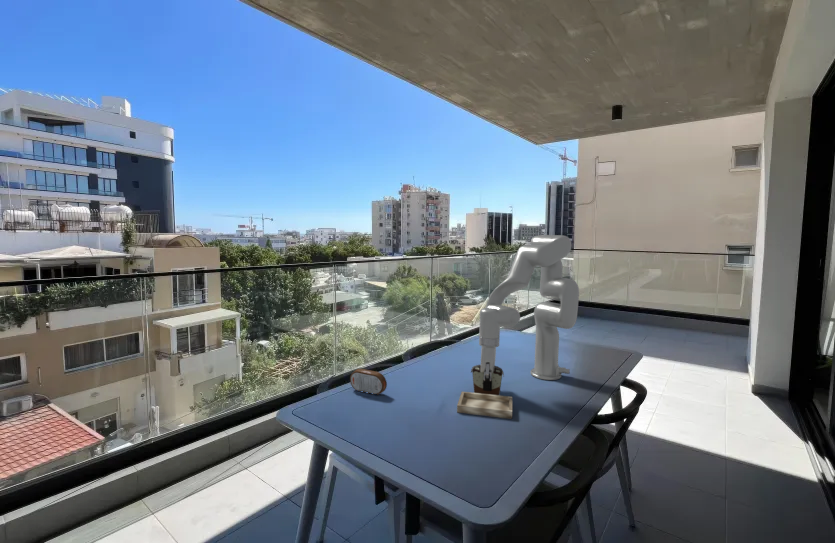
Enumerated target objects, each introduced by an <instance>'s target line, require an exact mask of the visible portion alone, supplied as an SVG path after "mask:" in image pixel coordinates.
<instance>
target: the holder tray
mask: <svg viewBox="0 0 835 543" xmlns="http://www.w3.org/2000/svg"><path fill="white" fill-rule="evenodd" d="M456 406H457V407H456V413H459V414H468V415H475V416H476V415H477V416H485V417H493V418H500V419H509V420H510V419H511V420H512V419H513V396H508V395H501V394H500V395H491V394H481V393H474V392H469V391H461V393H460V395H459V399H458V401H457V405H456Z"/></svg>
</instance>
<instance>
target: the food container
mask: <svg viewBox="0 0 835 543" xmlns="http://www.w3.org/2000/svg"><path fill="white" fill-rule="evenodd" d="M480 368H481V364H476V365H474V366H472V368H471V369H470V373H472V384H473V385H472V386H473V393H481V394H491V395H500V396H501V394H500V393H501V387H502V380H503V378H504V377H505V374H504V370H503V368H502V367H499V366H497V365H495V367H494V372H493V373H492V377H491V380H492V391H484V390H483V380H484V372H482V373H481V372H480ZM485 372H486V370H485ZM489 372H491V371H489ZM489 375H490V374H489Z"/></svg>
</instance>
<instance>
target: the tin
mask: <svg viewBox="0 0 835 543" xmlns="http://www.w3.org/2000/svg"><path fill="white" fill-rule="evenodd" d="M349 382H350V385H351V387H352V388H353V389H354V390H355V391H357V390H358V391H357V392H359V391H363V392H362V393H364V392H368V393H367V394H369V393H373V394H377V395H376V396H378V395H381V394H382V393H384V392H385V391H386V389H387V386H388V383H387V380H386V377H385V375H383V373H381V372H379V371H376V370H375V371H374V370H370V369H365V368H357V369H355V370H354V371H353V372H351V374H350V376H349ZM373 394H372V395H373Z"/></svg>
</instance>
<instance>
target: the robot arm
mask: <svg viewBox="0 0 835 543" xmlns="http://www.w3.org/2000/svg"><path fill="white" fill-rule="evenodd" d="M571 250H572V241H571V239H570V238H569V236H567V235H563V234H562V235H561V234H558V235H557V234H554V235H553V234H540V235H535V236H533V237H532V238H531V240H530V244H523V245H521V246H520V247H519V248H518V249H517V251H516V253H515V255H514V256H515V257H514V259H513V262H512V264H511V266H510V268H509V272H508V275H507V277H506V279H505V280H503V281H502V282H501V283H500V284H499V285H498V286H496V288H494V289H493V291H492V292H491V294H490V295H489V297H488V300H487V302H486V305H485V307H483V308H481V309H480V311H479V329H478V330H479V331H478V332H479V334H478V335H479V336H478V338H479V340H478V345H479V346H480V347H481V350H480V351H481V352H480V365H481V368H480V372H481V373H482V372H484V380H483V390H484V391H492V380H491V377H492V373H493V372H494V367H495V366H496V359H497V358H496V356H497V355H496V354H497V347H500V333H501V332H500V331H501V328H512V327H515V326H516V325H518V323H519V322H520V319H521V314H520V312H519V311H518V310H517V309H516V308H514V307H511V306H506V305H503V304H504V300H505V299H506V298H507V297H509V296H510V295H511V294H513V293H516V292H518V291H521V290H523V289H525V288H528V286H529V284H530V281H531V278H532V276H533V273H534V270H535V268H540V279H539V280H540V283H539V293H540V295H541V297H543V298H545V299H548V300H552V301H553V300H554V301H558V302H560V303H556V302H551V301H541V302H538V303H537V304H536V305H535V307H534V310H533V316H534V323H535V348H534V367H533V368H532V369H530V375H531V376H532V377H534V378H537V379H540V380H545V381H555V380H559V379H561V378H562V374H567V375H570V373H571V372H570V368H566V367H560V366H559V350H560V349H559V348H560V333H559V330H558V329H559V328H560V329H565V330H569V329H570V330H571V329H573V327H574V326H575V325H576V323H577V319H578V312H579V311H578V309H579V300H580V299H579V297H580V288H579V285H578V283H577V281H575V280H574V279H572V278H566V277H563V263H562V259H564V258H565V257H567V256H568V255H569V253H570V252H571ZM485 370H486V372H485ZM489 371H491V372H489ZM489 374H490V375H489Z"/></svg>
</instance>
